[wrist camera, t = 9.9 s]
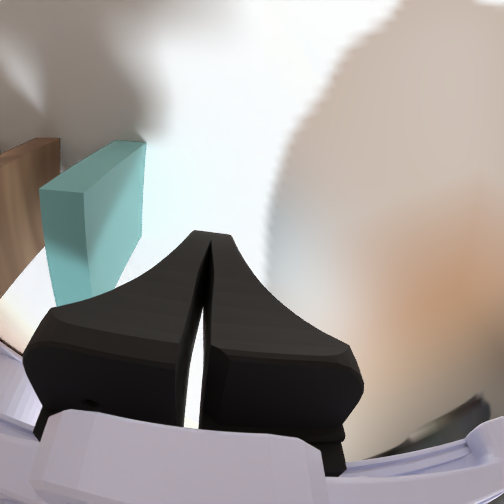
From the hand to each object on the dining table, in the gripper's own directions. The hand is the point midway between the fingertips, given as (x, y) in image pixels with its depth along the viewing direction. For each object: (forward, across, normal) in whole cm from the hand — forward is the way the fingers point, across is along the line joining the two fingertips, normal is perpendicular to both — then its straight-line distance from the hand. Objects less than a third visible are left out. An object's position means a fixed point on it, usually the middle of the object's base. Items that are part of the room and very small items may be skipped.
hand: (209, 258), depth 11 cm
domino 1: (+5, +9, 0) cm, 11 cm away
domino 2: (+5, +5, 0) cm, 7 cm away
